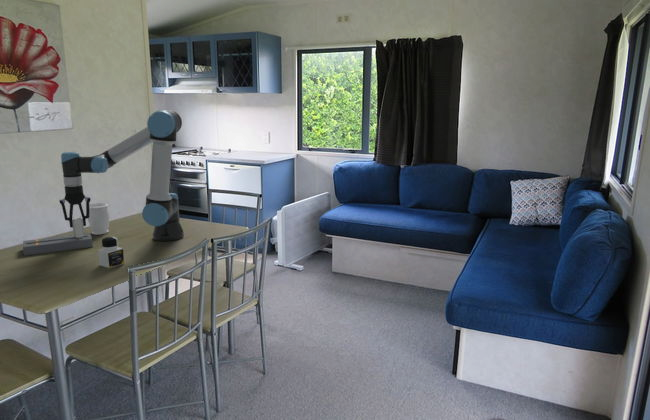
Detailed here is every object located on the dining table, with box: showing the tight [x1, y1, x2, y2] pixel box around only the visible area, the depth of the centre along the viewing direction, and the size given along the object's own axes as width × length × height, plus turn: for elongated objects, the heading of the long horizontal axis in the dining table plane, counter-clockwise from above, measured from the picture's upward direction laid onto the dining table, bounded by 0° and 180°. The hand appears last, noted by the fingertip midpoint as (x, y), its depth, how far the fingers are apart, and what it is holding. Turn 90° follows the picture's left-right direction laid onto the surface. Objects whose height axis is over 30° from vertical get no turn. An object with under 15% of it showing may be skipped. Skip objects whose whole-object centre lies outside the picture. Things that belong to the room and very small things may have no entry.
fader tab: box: [72, 216, 84, 238], centre depth 226 cm, size 3×6×11 cm, turn 31°
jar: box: [87, 202, 111, 236], centre depth 247 cm, size 11×10×15 cm
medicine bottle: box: [97, 236, 125, 269], centre depth 200 cm, size 7×7×12 cm
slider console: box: [22, 232, 94, 256], centre depth 223 cm, size 28×11×4 cm, turn 121°
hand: (78, 233), depth 226 cm, fingers closed on fader tab, 3 cm apart
